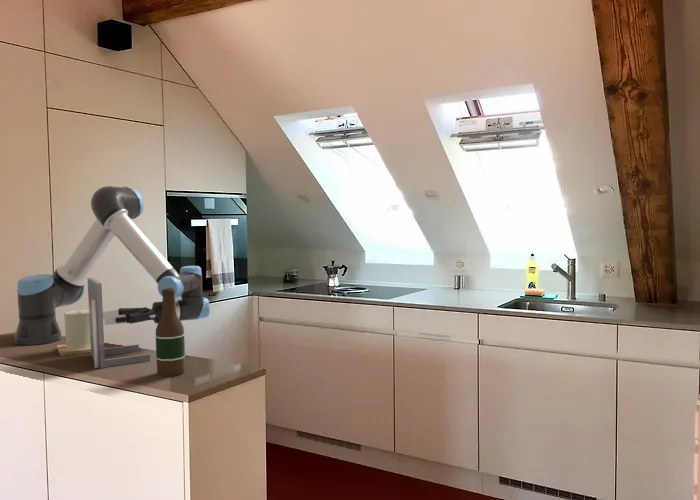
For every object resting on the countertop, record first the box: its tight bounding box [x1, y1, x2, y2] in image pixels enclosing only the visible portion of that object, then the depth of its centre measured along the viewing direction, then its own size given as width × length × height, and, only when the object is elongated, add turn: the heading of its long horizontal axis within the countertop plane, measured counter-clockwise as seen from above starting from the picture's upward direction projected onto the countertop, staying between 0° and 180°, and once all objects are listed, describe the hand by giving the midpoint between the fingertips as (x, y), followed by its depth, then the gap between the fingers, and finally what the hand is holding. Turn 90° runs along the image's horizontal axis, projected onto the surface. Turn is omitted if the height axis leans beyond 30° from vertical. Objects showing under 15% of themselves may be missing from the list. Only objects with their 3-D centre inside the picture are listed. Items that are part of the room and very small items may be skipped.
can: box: [63, 309, 91, 349], centre depth 207 cm, size 9×9×12 cm
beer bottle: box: [155, 288, 186, 378], centre depth 174 cm, size 8×8×24 cm
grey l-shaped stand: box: [87, 277, 151, 369], centre depth 193 cm, size 20×16×25 cm
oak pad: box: [56, 343, 91, 357], centre depth 207 cm, size 13×13×1 cm
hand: (101, 317), depth 210 cm, fingers open, 13 cm apart
